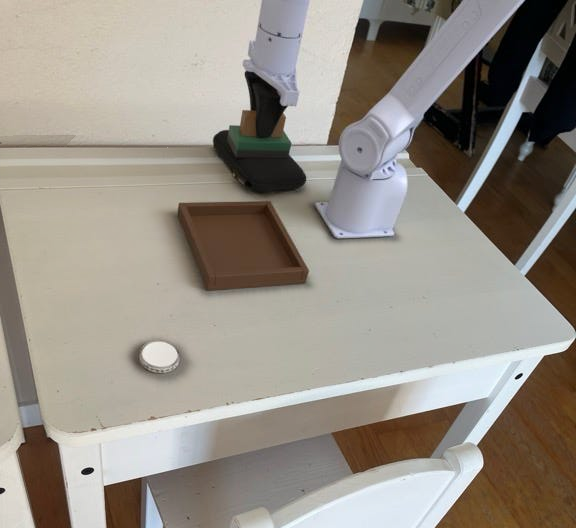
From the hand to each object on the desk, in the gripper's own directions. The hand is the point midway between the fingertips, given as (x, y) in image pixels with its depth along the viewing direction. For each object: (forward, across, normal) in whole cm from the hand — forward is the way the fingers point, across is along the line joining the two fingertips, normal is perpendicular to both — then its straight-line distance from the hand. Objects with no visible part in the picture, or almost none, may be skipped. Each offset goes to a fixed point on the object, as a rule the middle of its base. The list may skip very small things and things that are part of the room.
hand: (261, 131), depth 88 cm
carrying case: (+6, 0, 0) cm, 6 cm away
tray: (+6, +18, -8) cm, 21 cm away
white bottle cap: (+6, +36, -22) cm, 42 cm away
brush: (+3, 0, 0) cm, 3 cm away
